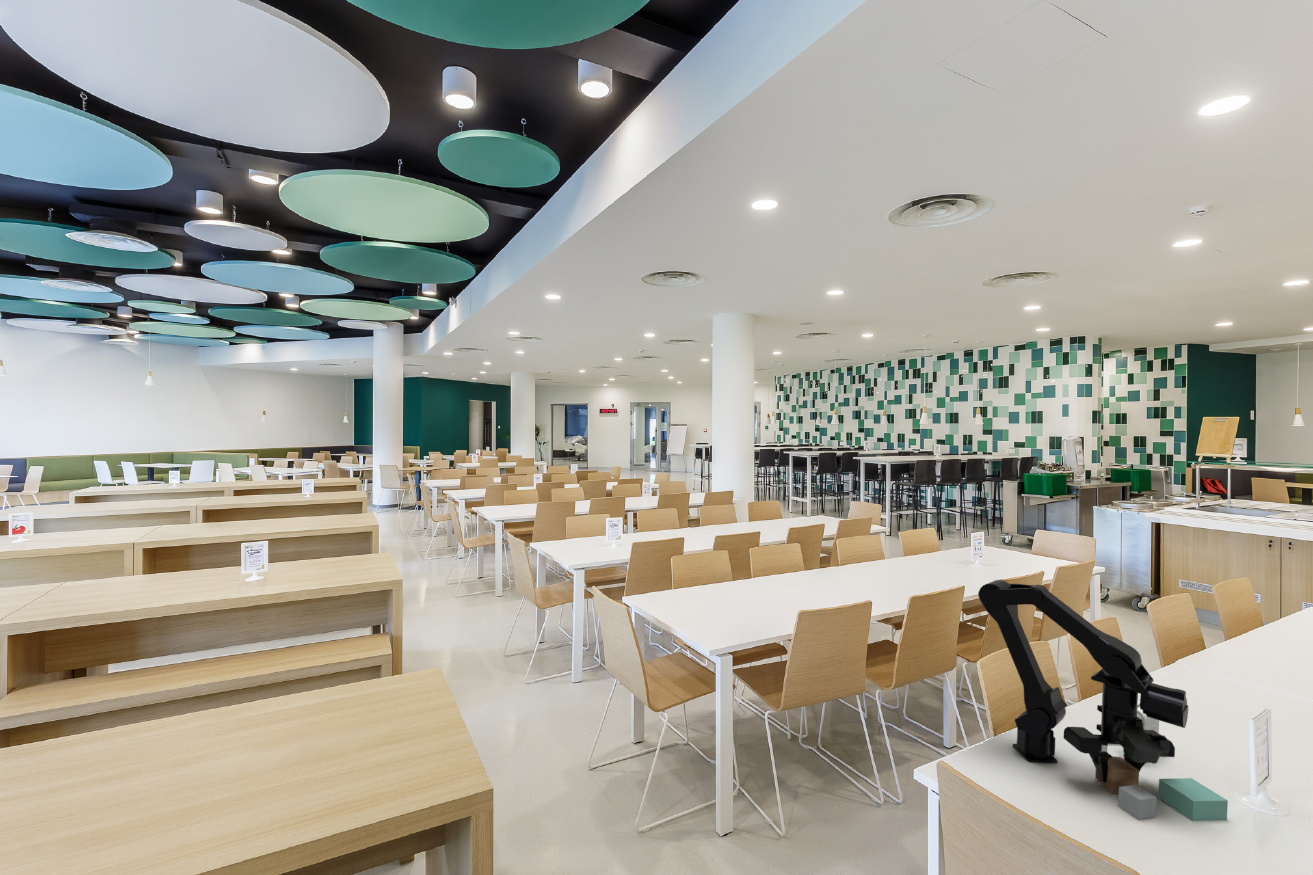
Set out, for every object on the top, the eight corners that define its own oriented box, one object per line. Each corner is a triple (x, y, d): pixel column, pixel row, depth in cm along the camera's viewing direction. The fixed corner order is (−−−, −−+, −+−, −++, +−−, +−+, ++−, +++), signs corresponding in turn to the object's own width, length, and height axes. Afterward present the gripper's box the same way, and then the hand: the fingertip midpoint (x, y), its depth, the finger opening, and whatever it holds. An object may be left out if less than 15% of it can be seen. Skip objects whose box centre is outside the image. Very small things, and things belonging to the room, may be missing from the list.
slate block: (1139, 820, 110) (1140, 799, 110) (1118, 807, 114) (1119, 786, 114) (1155, 817, 111) (1156, 797, 111) (1134, 804, 115) (1135, 784, 115)
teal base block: (1192, 821, 110) (1193, 801, 110) (1158, 798, 117) (1159, 778, 117) (1226, 820, 111) (1227, 800, 111) (1190, 797, 118) (1191, 778, 118)
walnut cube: (1112, 793, 118) (1113, 769, 118) (1095, 778, 123) (1096, 755, 123) (1138, 794, 118) (1139, 770, 118) (1119, 779, 123) (1120, 756, 123)
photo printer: (1137, 743, 138) (1139, 691, 137) (1160, 752, 134) (1162, 699, 134) (1120, 756, 132) (1122, 702, 132) (1144, 766, 128) (1146, 710, 128)
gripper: (1101, 725, 112) (1098, 804, 113) (1201, 729, 112) (1197, 809, 112) (1063, 698, 124) (1060, 770, 124) (1153, 702, 123) (1150, 774, 123)
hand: (1116, 781), depth 121 cm, fingers closed on walnut cube, 5 cm apart
